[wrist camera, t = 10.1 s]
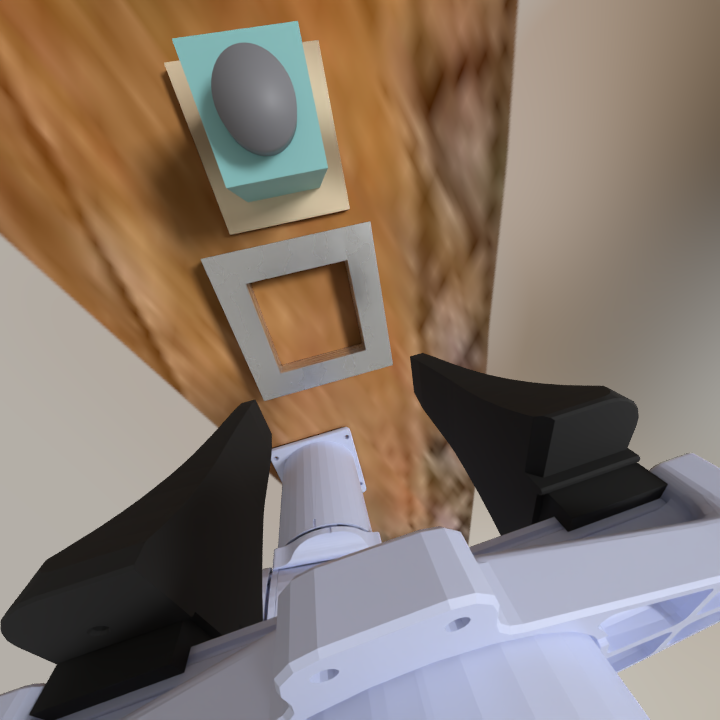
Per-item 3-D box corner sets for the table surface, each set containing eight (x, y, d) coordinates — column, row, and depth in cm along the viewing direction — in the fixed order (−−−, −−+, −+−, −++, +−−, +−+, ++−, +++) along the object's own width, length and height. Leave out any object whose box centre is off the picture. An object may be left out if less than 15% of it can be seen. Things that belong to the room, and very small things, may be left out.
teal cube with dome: (319, 187, 17) (330, 162, 11) (247, 202, 16) (220, 183, 11) (298, 92, 15) (297, -1, 9) (215, 105, 14) (158, 18, 9)
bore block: (387, 357, 24) (392, 364, 22) (266, 391, 23) (264, 401, 21) (365, 222, 19) (370, 221, 17) (208, 257, 18) (200, 259, 16)
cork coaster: (348, 209, 18) (349, 208, 18) (231, 234, 17) (230, 234, 17) (317, 46, 15) (318, 40, 14) (168, 68, 14) (163, 62, 13)
